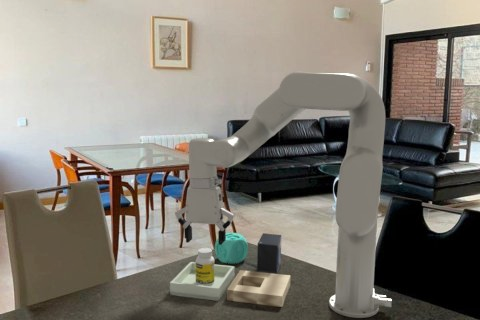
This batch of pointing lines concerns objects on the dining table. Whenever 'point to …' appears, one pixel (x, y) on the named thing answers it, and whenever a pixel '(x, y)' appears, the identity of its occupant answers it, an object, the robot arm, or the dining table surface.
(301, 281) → the dining table surface
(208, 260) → the supplement bottle
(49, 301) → the dining table surface
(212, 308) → the dining table surface
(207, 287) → the tray
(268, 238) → the small box
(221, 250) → the decorative dice
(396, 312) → the dining table surface
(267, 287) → the beige flat square frame
